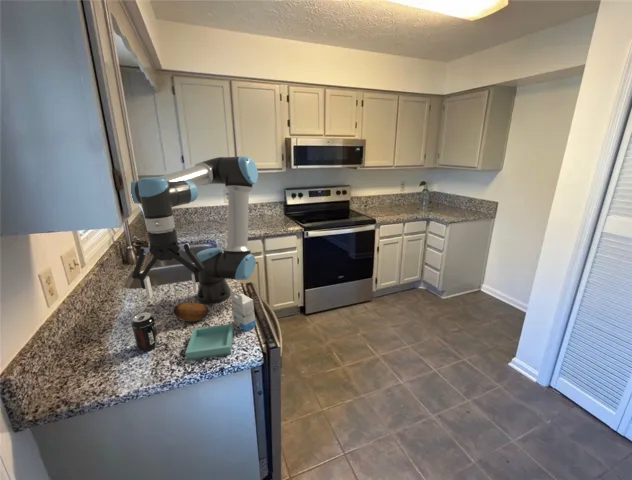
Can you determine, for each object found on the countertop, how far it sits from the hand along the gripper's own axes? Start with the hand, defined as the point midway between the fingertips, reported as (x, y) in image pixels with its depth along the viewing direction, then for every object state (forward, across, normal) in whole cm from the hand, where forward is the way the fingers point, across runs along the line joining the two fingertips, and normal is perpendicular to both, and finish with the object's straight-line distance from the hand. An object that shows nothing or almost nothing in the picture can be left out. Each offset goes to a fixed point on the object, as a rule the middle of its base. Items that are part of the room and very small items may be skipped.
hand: (173, 294), depth 93 cm
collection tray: (+22, +9, +2) cm, 24 cm away
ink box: (+22, +20, +11) cm, 32 cm away
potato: (+22, 0, +21) cm, 31 cm away
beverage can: (+22, -13, +7) cm, 27 cm away
